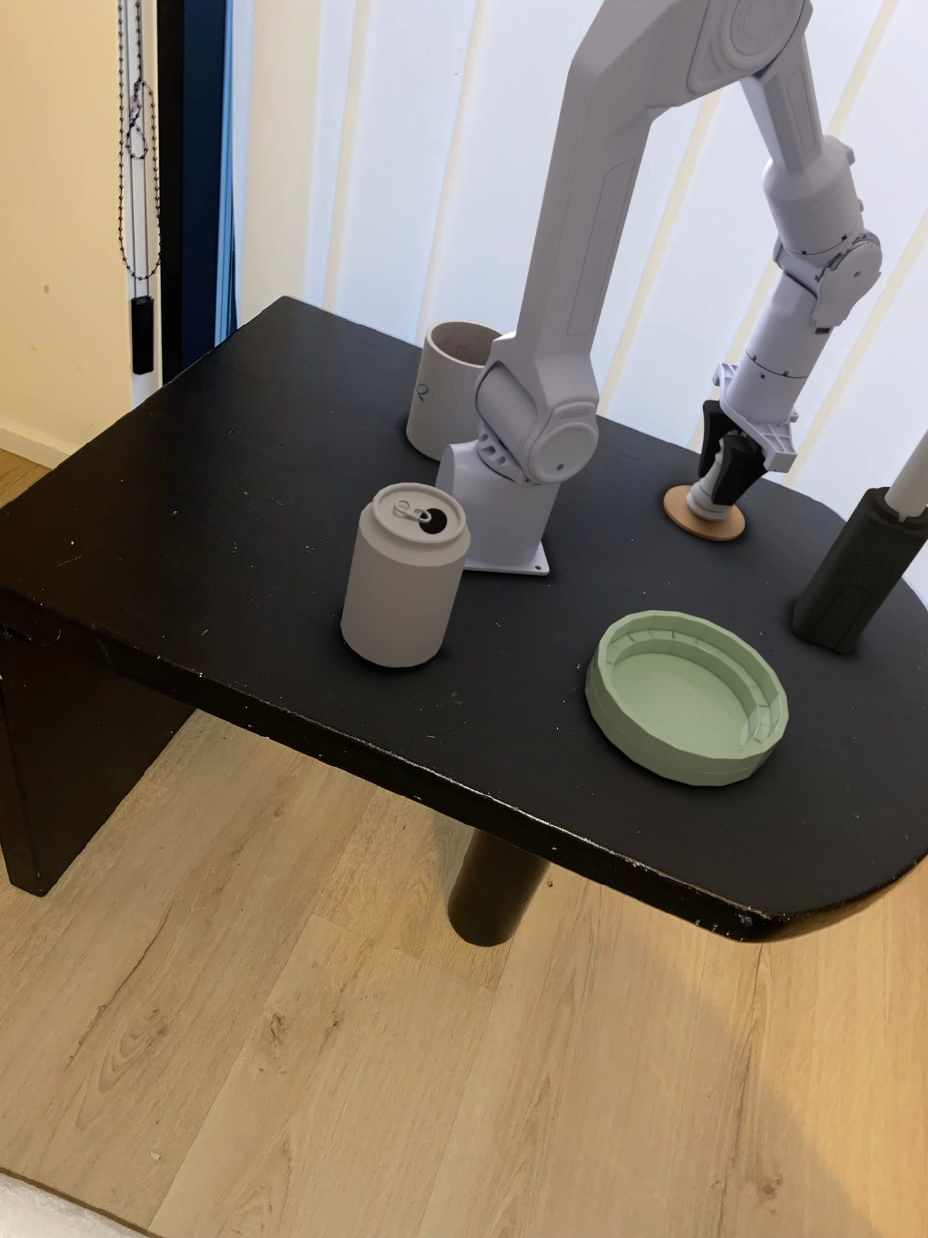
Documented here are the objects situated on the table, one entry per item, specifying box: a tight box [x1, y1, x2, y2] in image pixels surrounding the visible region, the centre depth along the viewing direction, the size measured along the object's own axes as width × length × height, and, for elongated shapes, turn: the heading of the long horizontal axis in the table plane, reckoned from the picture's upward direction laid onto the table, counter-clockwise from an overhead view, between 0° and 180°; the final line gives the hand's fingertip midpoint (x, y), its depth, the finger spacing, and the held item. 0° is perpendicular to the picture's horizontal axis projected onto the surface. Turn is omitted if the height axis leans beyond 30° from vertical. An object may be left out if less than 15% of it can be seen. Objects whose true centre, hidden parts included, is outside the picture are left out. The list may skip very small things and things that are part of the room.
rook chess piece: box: [686, 430, 747, 521], centre depth 87 cm, size 4×4×8 cm
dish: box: [584, 609, 790, 787], centre depth 69 cm, size 14×14×4 cm
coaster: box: [663, 484, 746, 542], centre depth 90 cm, size 8×8×1 cm
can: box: [340, 482, 471, 668], centre depth 65 cm, size 8×8×12 cm
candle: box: [791, 429, 928, 654], centre depth 73 cm, size 5×5×25 cm
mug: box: [406, 318, 507, 462], centre depth 88 cm, size 12×9×10 cm
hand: (714, 490), depth 89 cm, fingers closed on rook chess piece, 3 cm apart
